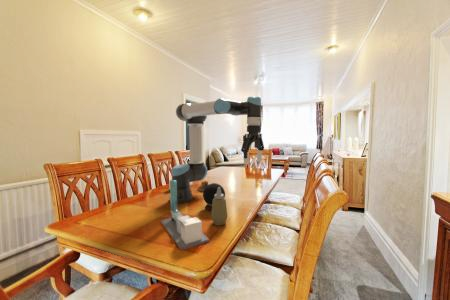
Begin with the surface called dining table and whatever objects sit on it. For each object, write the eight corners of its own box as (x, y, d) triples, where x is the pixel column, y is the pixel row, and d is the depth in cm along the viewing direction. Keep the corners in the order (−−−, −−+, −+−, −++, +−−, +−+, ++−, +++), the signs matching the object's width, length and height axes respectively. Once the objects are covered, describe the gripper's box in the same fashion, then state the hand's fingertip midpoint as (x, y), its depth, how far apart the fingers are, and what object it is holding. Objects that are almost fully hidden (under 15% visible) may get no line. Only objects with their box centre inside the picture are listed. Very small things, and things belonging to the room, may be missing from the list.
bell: (205, 192, 158) (205, 183, 157) (194, 190, 166) (194, 181, 165) (215, 189, 167) (215, 180, 166) (205, 187, 174) (205, 178, 174)
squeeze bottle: (221, 228, 97) (221, 190, 96) (208, 224, 102) (207, 188, 100) (230, 221, 104) (230, 186, 103) (217, 218, 109) (216, 184, 107)
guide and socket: (161, 222, 105) (160, 205, 104) (183, 217, 111) (183, 201, 110) (181, 250, 79) (180, 228, 78) (209, 241, 85) (208, 221, 85)
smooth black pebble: (222, 203, 132) (222, 180, 131) (227, 211, 119) (227, 185, 118) (201, 205, 129) (201, 181, 128) (204, 213, 116) (204, 187, 115)
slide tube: (170, 218, 106) (169, 180, 104) (176, 217, 107) (175, 179, 106) (180, 230, 92) (179, 187, 91) (187, 228, 94) (186, 186, 93)
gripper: (246, 124, 104) (245, 166, 106) (270, 125, 123) (269, 160, 125) (234, 124, 109) (234, 164, 111) (259, 125, 128) (258, 159, 130)
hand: (253, 162), depth 118 cm, fingers open, 13 cm apart
